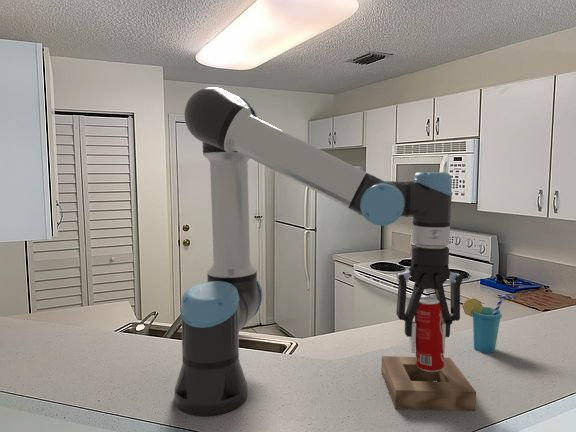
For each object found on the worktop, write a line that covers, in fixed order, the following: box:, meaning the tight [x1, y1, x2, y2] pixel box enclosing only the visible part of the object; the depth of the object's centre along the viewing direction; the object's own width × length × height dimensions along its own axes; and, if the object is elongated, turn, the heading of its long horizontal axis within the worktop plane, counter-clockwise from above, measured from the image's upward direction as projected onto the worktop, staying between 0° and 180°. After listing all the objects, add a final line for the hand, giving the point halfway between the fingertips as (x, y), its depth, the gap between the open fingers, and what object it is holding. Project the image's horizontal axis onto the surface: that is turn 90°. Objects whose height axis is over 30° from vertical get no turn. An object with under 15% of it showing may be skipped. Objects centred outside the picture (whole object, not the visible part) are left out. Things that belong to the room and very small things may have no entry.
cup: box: [461, 294, 516, 354], centre depth 118 cm, size 14×8×15 cm, turn 96°
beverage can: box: [414, 296, 445, 372], centre depth 95 cm, size 6×6×15 cm
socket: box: [380, 355, 477, 412], centre depth 96 cm, size 16×16×4 cm
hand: (426, 350), depth 95 cm, fingers closed on beverage can, 6 cm apart
